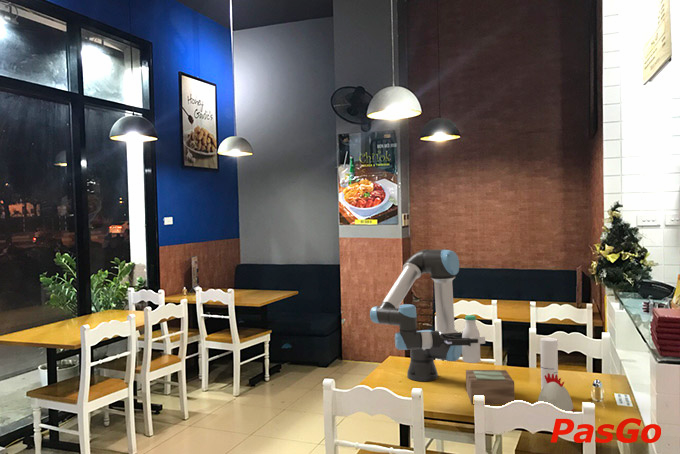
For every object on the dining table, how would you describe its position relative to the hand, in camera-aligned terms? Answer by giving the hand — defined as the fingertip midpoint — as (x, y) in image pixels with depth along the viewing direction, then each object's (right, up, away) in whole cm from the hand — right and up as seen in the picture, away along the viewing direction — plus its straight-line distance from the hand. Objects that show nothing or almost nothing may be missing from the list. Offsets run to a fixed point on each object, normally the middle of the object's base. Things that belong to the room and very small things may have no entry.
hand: (481, 337), depth 240 cm
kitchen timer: (+26, -27, -15) cm, 41 cm away
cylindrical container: (+31, -26, +4) cm, 41 cm away
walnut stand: (+4, -27, +2) cm, 27 cm away
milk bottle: (-5, -10, 0) cm, 11 cm away
